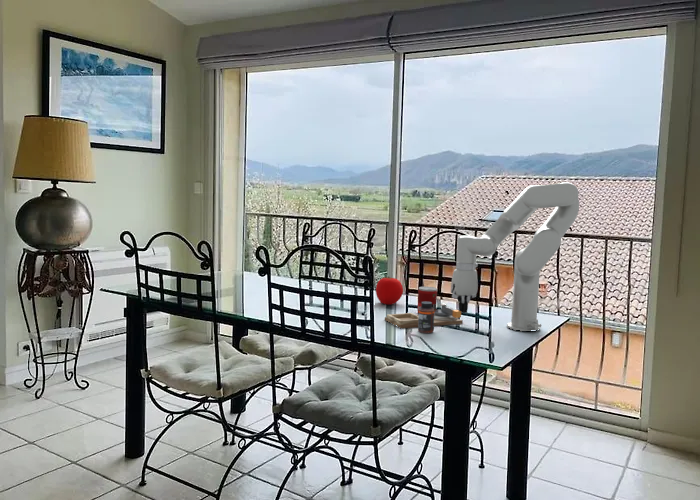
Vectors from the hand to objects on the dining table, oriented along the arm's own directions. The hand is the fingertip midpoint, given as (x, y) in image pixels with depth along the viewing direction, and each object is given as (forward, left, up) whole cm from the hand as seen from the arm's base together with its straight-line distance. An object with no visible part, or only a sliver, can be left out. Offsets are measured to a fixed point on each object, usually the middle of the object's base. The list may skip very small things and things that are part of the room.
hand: (463, 311), depth 254 cm
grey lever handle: (+3, +5, -2) cm, 6 cm away
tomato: (+42, +12, -5) cm, 44 cm away
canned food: (+20, +5, -5) cm, 21 cm away
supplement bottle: (-7, +21, -5) cm, 23 cm away
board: (+7, +14, -5) cm, 16 cm away
